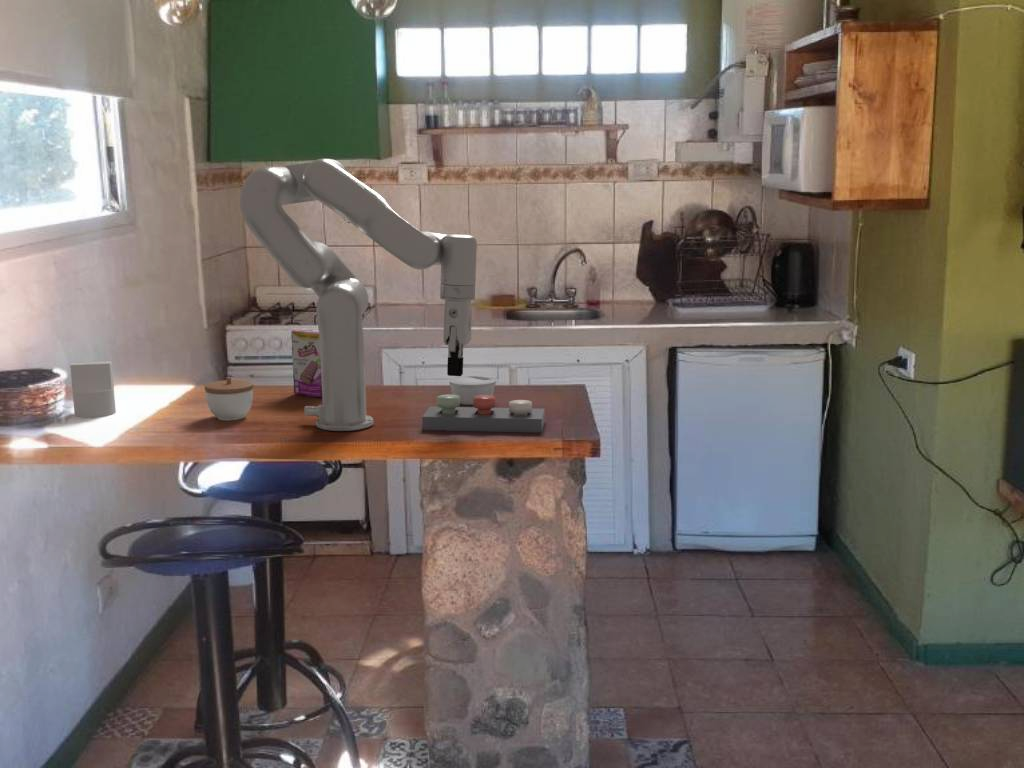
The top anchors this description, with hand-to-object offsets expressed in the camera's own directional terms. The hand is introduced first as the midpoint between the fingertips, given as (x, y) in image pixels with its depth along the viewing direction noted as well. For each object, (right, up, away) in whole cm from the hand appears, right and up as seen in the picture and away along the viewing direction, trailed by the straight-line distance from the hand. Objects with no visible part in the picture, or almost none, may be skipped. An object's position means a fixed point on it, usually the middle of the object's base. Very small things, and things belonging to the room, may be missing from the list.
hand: (454, 375), depth 235 cm
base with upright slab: (-85, -9, +15) cm, 86 cm away
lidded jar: (-52, -10, +11) cm, 54 cm away
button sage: (-1, -10, +2) cm, 10 cm away
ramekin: (+3, -6, +27) cm, 28 cm away
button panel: (+6, -11, +2) cm, 13 cm away
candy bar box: (-37, -5, +34) cm, 50 cm away
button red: (+6, -10, +1) cm, 12 cm away
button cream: (+14, -11, +1) cm, 18 cm away
